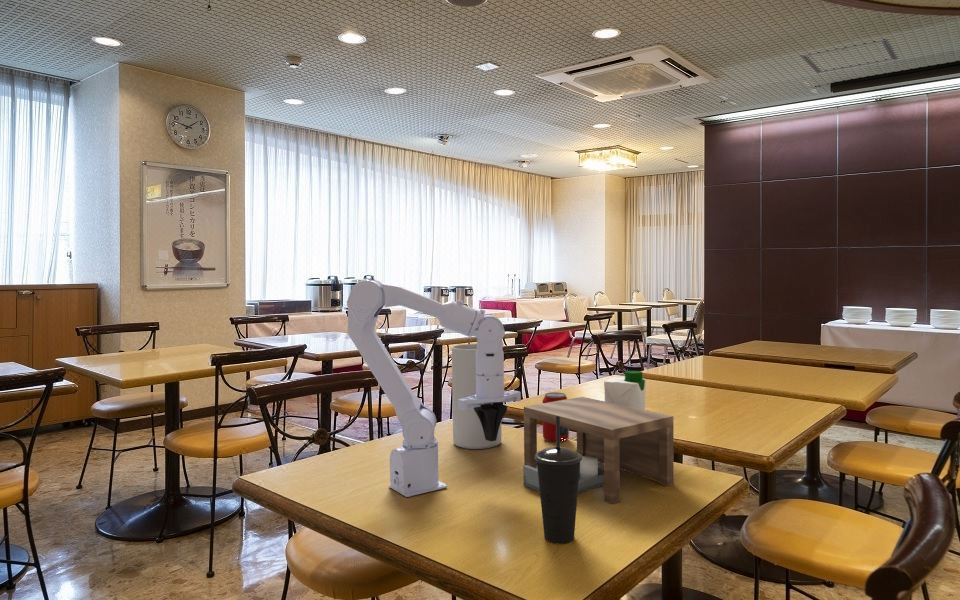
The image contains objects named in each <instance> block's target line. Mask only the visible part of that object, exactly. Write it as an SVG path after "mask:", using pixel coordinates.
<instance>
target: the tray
mask: <svg viewBox="0 0 960 600" xmlns="http://www.w3.org/2000/svg"><path fill="white" fill-rule="evenodd" d="M575 451H576V452H578V453H580V454H581V455H582V460H581V461H580V470H579V482H578V494H580V493H583V492H586V491H589V490H593V489H596V488H600V487H603V486H604V468H601V467H599V462H598V458H597V457H594V456H583V454H582V452H579V451H577V450H575ZM522 467H523V470H522V471H523V474H522V475H523V486H525V487H527V488H529V489H531V490H533V491H536V492H538V493H540V489H539V479H538V469H536V468H534V467H531V466H528V465H525V466H524V465H523V466H522Z"/></svg>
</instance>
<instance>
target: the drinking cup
mask: <svg viewBox="0 0 960 600" xmlns="http://www.w3.org/2000/svg"><path fill="white" fill-rule="evenodd" d="M576 451H577V450H573V449H571V448H569V447H564V446H561V442H560V416H556V442H555V446H550V447H546V448H543V449H541V450H539V451H537V453H536V454H535V459H536V460H537V469H538V479H539V489H540V492H539V496H540V506H541V507H540V508H541V516H542V525H543V526H542V527H543V536H544V540H546V541H547V540H548V541H547V542H549V543H551V542H552V544H556V543H559V545H563V544H568V543H572V542H573V541H574V539H575V531H576V520H577V519H576V517H577V507H578V506H577V505H578V494H579V493H578V482H579V470H580V461H581V460H582V455H581V454H580V453H578V452H576Z"/></svg>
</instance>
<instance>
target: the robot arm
mask: <svg viewBox="0 0 960 600" xmlns="http://www.w3.org/2000/svg"><path fill="white" fill-rule="evenodd" d="M346 306H347V334H348V337H349V338H350V340H351V342H352V343H353V345H354V346H355V348H356V349H357V350H358V352H359V354H360V355H361V357H362V359H363V360H364V362H365V364H366V365H367V367H368V369H369V371H370V372H371V373H372V374H373V377H375V380H376V381H377V383H378V385H379V386H380V388H381V389H382V390H383V392H384V394H385V396H386V397H387V399H388V400H389V402H390V404H391V405H392V406H393V408H394V411H395V416H396V419H397V420H398V423H399V424H400V426H401V429H402V430H401V431H402V438H403V440H402V442H401V443H402V445H400V446H399V447H395V448H393V449H392V450H391V451H390V456H389V470H390V471H389V479H390V480H389V481H390V482H389V484H388V487H389V488H391V489H392V490H393V491H396V492H397V493H398V494H401V495H402V496H404V497H405V498H408V497H409V498H410V497H414V496H417V495H421V494H424V493H430V492H433V491H437V490H438V491H439V490H442V489H446V488H447V487H448V485H447V483H444V482H442V481H440V480H439V441H438V439H437V438H436V437H435V430H436V427H437V417H436V415H435V412H433V411H432V409H430V408H428V407H427V406H426V405H424V403H423V402H422V401H421V399H420V398H419V397H418V396H417V395H416V394H415V393H414V391H413V390H412V388H411V387H410V384H409V383H408V382H407V380H406V378H405V377H404V375H403V374H402V372H401V370H400V369H399V367H398V365H397V364H396V362H395V361H394V359H393V357H392V356H391V354H390V353H389V351H388V350H387V348H386V346H385V345H384V343H383V341H382V340H381V339H380V337H379V334H378V333H377V332H376V331H375V327H376V323H377V322H378V317H379V314H380V312H381V311H382V309H383V308H390V307H398V306H401V307H404V308H407V309H410V310H412V311H416V312H419V313H422V314H425V315H427V316H430V317H434V318H436V319H438V322H439V324H440V326H441V328H444V329H447V330H449V331H452V332H455V333H458V334H460V335H464V336H465V337H469V338H471V337H475V338H476V344H477V351H476V395H473V396H470V397H466V398H462V399H458V409H461V410H467V409H469V408H474V410H475V412H476V414H477V416H478V418H479V420H480V422H481V425H482V428H483V431H484V435H485V440H488V441H496V439H497V434H498V430H499V426H500V423H501V424H502V421H503V418H504V416H505V415H506V413H507V412H508V406H507V405H506V403H510V402H521V401H522V399H521V398H522V395H521V393H522V392H521V391H518V390H508V391H505V367H504V366H505V359H504V356H505V355H504V353H505V352H504V351H503V348H504V342H503V339H504V337H505V333H506V331H505V330H506V329H505V328H504V325H503V323H502V321H501V320H500V318H498V317H497V316H495V315H494V314H493V313H486V310H484V309H482V308H480V310H478V309H476V308H473V307H470V306H467V305H466V304H464V301H463V300H460V299H457V300H456V301H455V300H449V301H447V302H444V303H442V302H439V301H436V300H435V299H432V298H429V297H427V296H424V295H423V294H420V293H417V292H415V291H412V290H410V289H407V288H405V287H403V286H399V285H395V284H392V283H386V282H381V281H379V280H376V279H371V280H368V279H367V280H360V281H358V282H357V283H355V284H354V285H353V287H352V288H351V289H350V293H349V295H348V298H347V301H346ZM504 403H505V404H504Z"/></svg>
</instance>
